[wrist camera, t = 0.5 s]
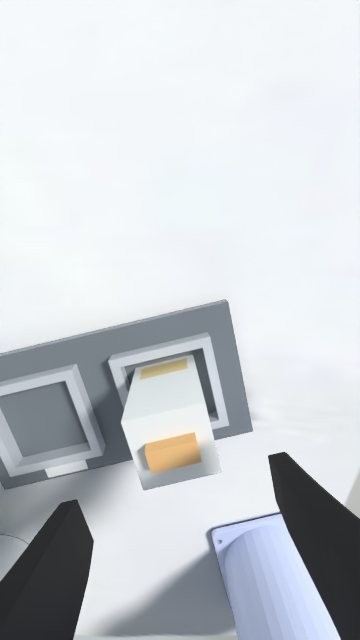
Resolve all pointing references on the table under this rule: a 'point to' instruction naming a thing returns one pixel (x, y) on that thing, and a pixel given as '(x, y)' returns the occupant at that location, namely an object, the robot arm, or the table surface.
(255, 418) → the table surface
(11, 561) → the coffee cup
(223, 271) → the table surface
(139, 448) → the plug
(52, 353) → the panel
